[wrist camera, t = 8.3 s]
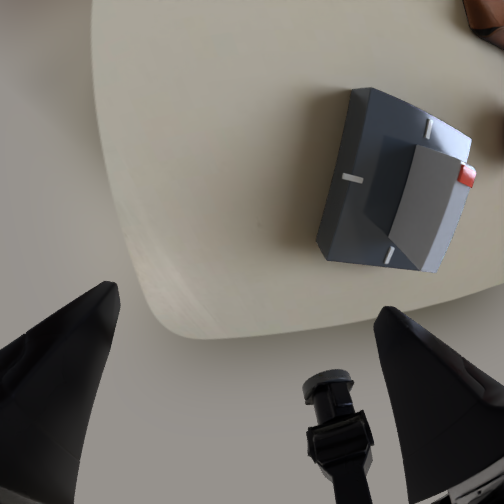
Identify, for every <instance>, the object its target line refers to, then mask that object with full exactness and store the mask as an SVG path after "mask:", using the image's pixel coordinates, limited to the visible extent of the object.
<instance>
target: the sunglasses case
mask: <svg viewBox="0 0 504 504" xmlns="http://www.w3.org/2000/svg"><path fill="white" fill-rule="evenodd" d="M463 4H464V7H465V11H466V15H467V19H468V22H469V26H470V28H471V29H472V31H473V32H474V33H475V34H476V35H478V36H479V37H481V38H482V39H484V40H485V41H488V42H490V43H491V44H494V45H496V46H498V47H500V48H502V49H503V50H504V0H463Z"/></svg>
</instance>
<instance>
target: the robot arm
mask: <svg viewBox="0 0 504 504" xmlns="http://www.w3.org/2000/svg"><path fill="white" fill-rule="evenodd" d="M119 311H120V298H119V292H118V286H117V284H116V283H115V282H110V281H104V282H102V283H100V284H99V285H97V286H96V287H94V288H92V289H91V290H89V291H88V292H86V293H84V294H83V295H81V296H80V297H78V298H76V299H75V300H73V301H72V302H70V303H69V304H67V305H66V306H64V307H62V308H61V309H59V310H58V311H57V312H55V313H53V314H52V315H50V316H49V317H48V318H46V319H44V320H43V321H42V322H40V323H39V324H37V325H36V326H34V327H33V328H31V329H30V330H28V331H27V332H26V334H23V335H21V336H20V337H19V338H17V339H16V340H14V341H13V342H11V343H10V344H8V345H7V346H5V347H4V348H3V349H1V350H0V504H74V495H75V488H76V482H77V475H78V470H79V464H80V461H79V460H80V458H81V453H82V448H83V444H84V439H85V435H86V430H87V426H88V422H89V418H90V414H91V410H92V407H93V403H94V400H95V396H96V393H97V389H98V386H99V383H100V380H101V376H102V373H103V370H104V367H105V364H106V361H107V358H108V355H109V352H110V348H111V344H112V340H113V336H114V332H115V327H116V323H117V319H118V315H119ZM374 333H375V338H376V343H377V348H378V353H379V359H380V364H381V367H382V371H383V375H384V379H385V382H386V386H387V389H388V394H389V397H390V401H391V405H392V409H393V414H394V418H395V423H396V427H397V432H398V437H399V442H400V447H401V452H402V458H403V465H404V471H405V478H406V485H407V493H408V501H409V504H415V503H417V502H420V501H423V500H425V499H428V498H430V497H432V496H435V495H437V494H439V493H441V492H444V491H446V490H448V494H446V495H445V496H443V497H441V498H440V499H438V500H436V501H435V502H433V503H431V504H504V386H503V385H501V384H500V383H499V382H497V381H496V380H494V379H493V378H491V377H490V376H489V375H487V374H486V373H484V372H483V371H481V370H480V369H478V368H477V367H476V366H474V365H473V364H472V363H470V362H469V361H467V360H466V359H465V358H464V357H462V356H461V355H460V354H458V353H457V352H456V351H454V350H453V349H452V348H450V347H449V346H448V345H446V344H445V343H444V342H442V341H441V340H440V339H438V338H437V337H436V336H434V335H433V334H432V333H430V332H429V331H427V330H426V329H425V328H423V327H422V326H421V325H419V324H417V323H416V322H415V321H414V320H412V319H411V318H409V317H408V316H406V315H405V314H404V313H402V312H401V311H400V310H398V309H397V308H395V307H393V306H385V307H383V308H382V309H381V311H380V313H379V315H378V317H377V319H376V321H375V323H374ZM353 384H354V381H353V380H349V381H337V382H320V383H317V384H316V385H315V387H314V389H313V390H312V392H311V393H310V395H309V397H308V398H307V400H306V401H305V404H306V405H314V408H315V413H316V417H317V422H318V425H317V426H314V427H308V431H307V432H306V435H307V440H308V456H310V457H311V458H312V459H313V461H314V463H317V464H318V466H319V467H320V469H321V471H322V473H323V475H324V476H325V477H326V478H327V479H329V480H330V481H331V482H332V483H333V486H334V493H335V499H336V504H372V499H371V495H370V491H369V487H368V483H367V479H366V475H367V473H368V470H369V468H370V465H371V463H372V461H373V460H372V453H371V447H370V446H373V445H374V440H373V437H372V433H371V430H370V427H369V424H368V422H367V419H366V416H365V413H364V410H361V411H360V412H357V413H355V410H354V407H353V404H352V403H353V402H352V399H351V396H350V393H349V390H350V388H351V387H352V386H353Z"/></svg>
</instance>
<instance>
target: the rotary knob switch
mask: <svg viewBox="0 0 504 504" xmlns="http://www.w3.org/2000/svg"><path fill="white" fill-rule="evenodd" d="M471 142H472V139H471V138H470V137H468V136H467V135H465V134H463V133H462V132H460V131H459V130H457V129H455V128H454V127H452V126H450V125H449V124H447V123H445V122H444V121H442V120H440V119H438V118H436V117H435V116H433V115H431V114H429V113H427V112H425V111H423V110H421V109H419V108H417V107H415V106H413V105H411V104H409V103H407V102H405V101H403V100H401V99H398V98H396V97H394V96H392V95H389V94H387V93H384V92H382V91H380V90H377V89H375V88H372V87H369V88H358V89H352V92H351V97H350V102H349V107H348V112H347V117H346V122H345V126H344V131H343V136H342V140H341V145H340V149H339V153H338V158H337V162H336V166H335V170H334V174H333V178H332V182H331V186H330V190H329V194H328V198H327V201H326V205H325V209H324V213H323V216H322V220H321V223H320V227H319V230H318V234H317V237H316V243H317V244H318V246H319V248H320V250H321V252H322V253H323V255H324V257H325V259H326V260H327V261H336V262H345V263H353V264H362V265H371V266H380V267H389V268H398V269H407V270H416V271H419V269H418V268H417V267H416V266H415V265H414V264H413V263H412V262H411V261H410V260H409V258H408V257H407V256H406V255H405V254H404V253H403V252H402V251H401V250H400V249H399V248H398V247H397V246H396V245H395V244H394V243H393V242H392V241H391V240H390V239H389V238H388V236H389V233H390V230H391V228H392V225H393V222H394V219H395V216H396V213H397V210H398V207H399V204H400V201H401V198H402V195H403V192H404V189H405V185H406V182H407V179H408V175H409V172H410V168H411V164H412V161H413V157H414V153H415V149H416V145H421V146H424V147H427V148H430V149H433V150H436V151H439V152H441V153H444V154H447V155H449V156H452V157H455V158H457V159H460V160H462V161H464V162H465V163H467V160H468V155H469V151H470V147H471Z"/></svg>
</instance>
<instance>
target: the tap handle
mask: <svg viewBox="0 0 504 504" xmlns="http://www.w3.org/2000/svg"><path fill="white" fill-rule="evenodd" d="M475 176H476V172H475V168H474V167H472V166H471V165H469V164H467V163H465V162H464V161H462V160H460V159H457V158H455V157H452V156H449V155H447V154H444V153H441V152H439V151H436V150H433V149H430V148H427V147H424V146H421V145H416V149H415V153H414V157H413V161H412V164H411V168H410V172H409V175H408V179H407V182H406V185H405V189H404V192H403V195H402V198H401V201H400V204H399V207H398V210H397V213H396V216H395V219H394V222H393V225H392V228H391V230H390V233H389V236H388V238H389V239H390V240H391V241H392V242H393V243H394V244H395V245H396V246H397V247H398V248H399V249H400V250H401V251H402V252H403V253H404V254H405V255H406V256H407V257H408V258H409V260H410V261H411V262H412V263H413V264H414V265H415V266H416V267H417V268H418V269H419V271H422V272H431V273H436V272H437V270H438V268H439V266H440V264H441V262H442V260H443V258H444V255H445V253H446V251H447V249H448V246H449V244H450V242H451V239H452V237H453V234H454V232H455V229H456V227H457V224H458V222H459V219H460V216H461V213H462V211H463V208H464V205H465V202H466V199H467V196H468V193H469V190H470V188H472V186H473V183H474V179H475Z"/></svg>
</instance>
